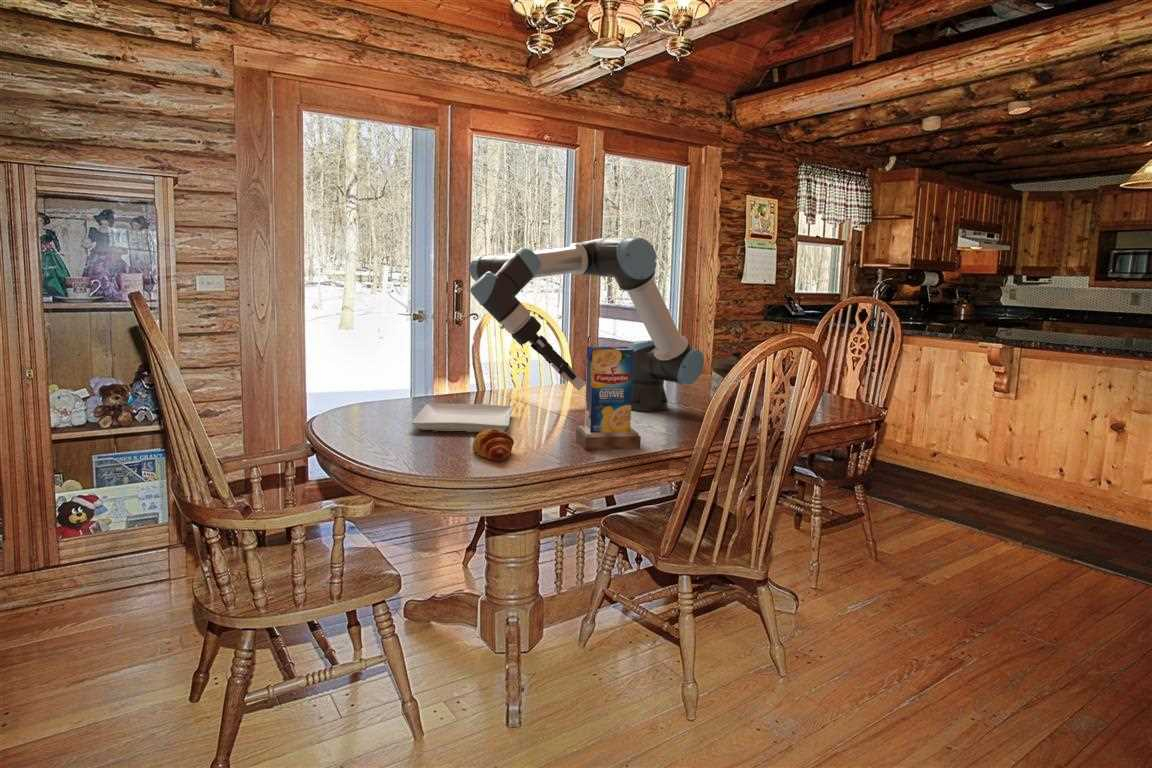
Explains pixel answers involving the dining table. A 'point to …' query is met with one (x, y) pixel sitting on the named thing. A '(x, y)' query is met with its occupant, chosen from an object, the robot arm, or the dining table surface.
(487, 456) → the croissant
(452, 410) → the square plate
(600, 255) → the robot arm
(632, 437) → the base block
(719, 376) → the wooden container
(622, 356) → the beverage box
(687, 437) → the dining table surface
